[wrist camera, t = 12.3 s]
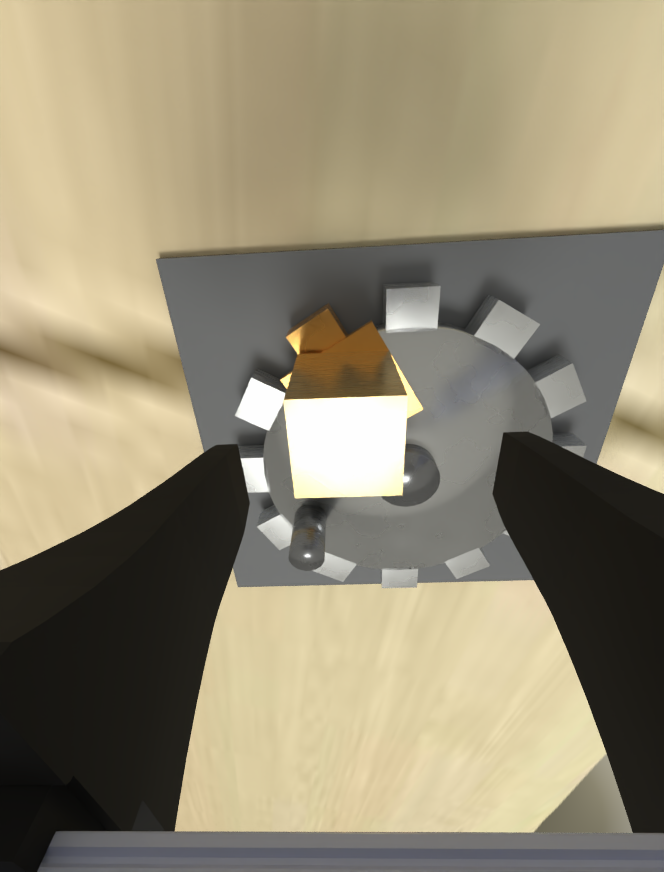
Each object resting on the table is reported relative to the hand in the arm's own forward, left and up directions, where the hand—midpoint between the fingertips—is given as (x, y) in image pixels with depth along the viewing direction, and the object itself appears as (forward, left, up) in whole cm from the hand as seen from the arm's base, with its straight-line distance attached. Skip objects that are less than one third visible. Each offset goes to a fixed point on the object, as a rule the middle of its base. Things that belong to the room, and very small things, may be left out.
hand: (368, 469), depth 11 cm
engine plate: (-2, +5, -10) cm, 11 cm away
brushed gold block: (+1, +1, -8) cm, 8 cm away
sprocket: (-2, +5, -10) cm, 11 cm away
